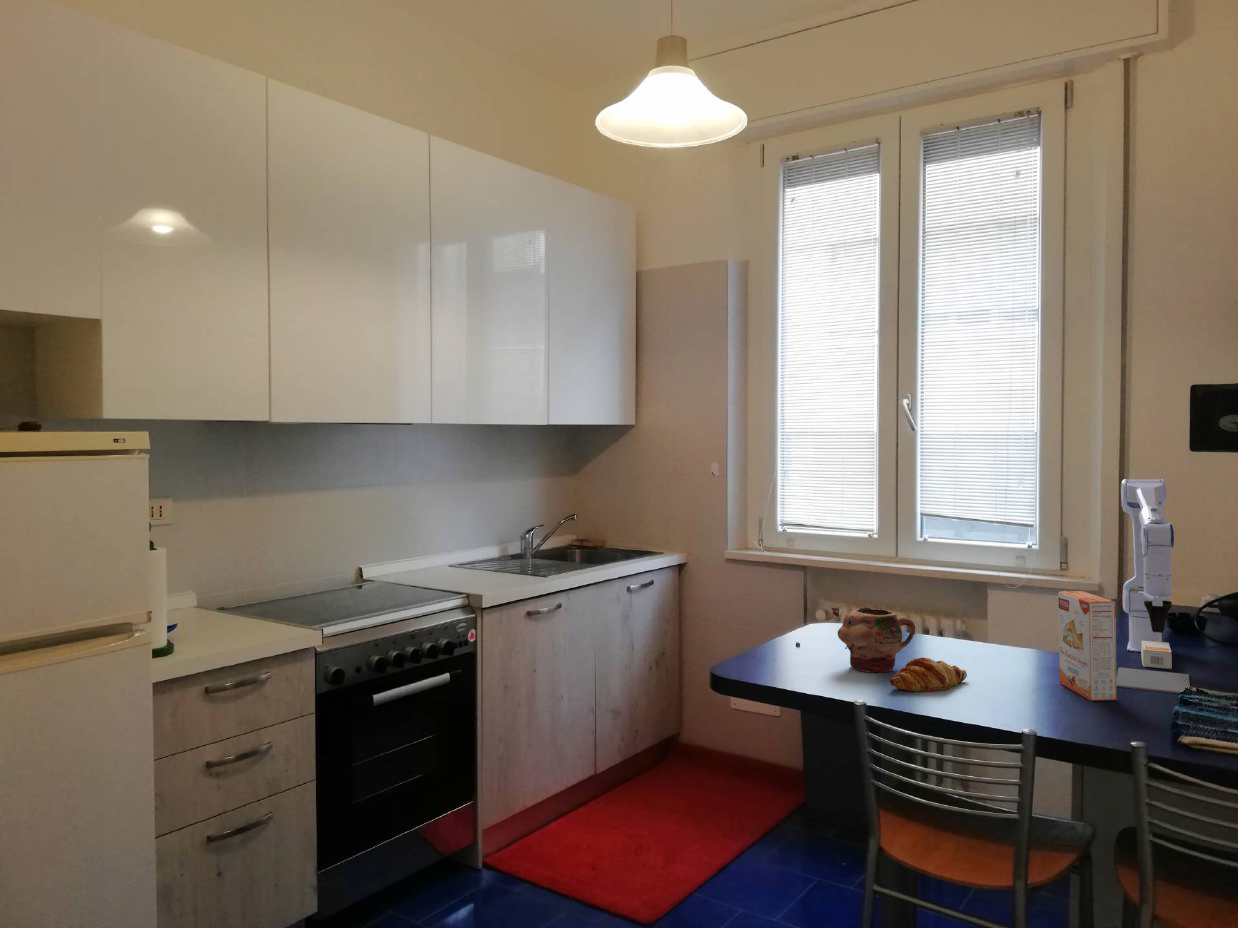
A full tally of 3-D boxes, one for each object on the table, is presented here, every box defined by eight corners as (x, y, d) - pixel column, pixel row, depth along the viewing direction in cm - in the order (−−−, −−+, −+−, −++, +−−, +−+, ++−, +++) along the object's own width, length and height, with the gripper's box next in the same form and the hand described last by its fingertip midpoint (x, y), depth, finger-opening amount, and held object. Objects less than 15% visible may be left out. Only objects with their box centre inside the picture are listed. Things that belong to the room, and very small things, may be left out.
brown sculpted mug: (898, 659, 227) (897, 603, 227) (928, 670, 216) (928, 611, 216) (827, 665, 221) (827, 609, 221) (855, 677, 210) (854, 617, 209)
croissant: (955, 693, 208) (944, 659, 211) (986, 681, 200) (973, 646, 203) (883, 703, 199) (872, 667, 202) (912, 691, 191) (900, 654, 194)
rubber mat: (1118, 669, 214) (1118, 667, 214) (1188, 675, 207) (1188, 674, 207) (1114, 686, 199) (1115, 684, 199) (1190, 694, 191) (1190, 692, 191)
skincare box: (1142, 648, 216) (1140, 639, 226) (1142, 666, 216) (1140, 656, 226) (1172, 651, 213) (1169, 641, 223) (1172, 669, 213) (1169, 659, 224)
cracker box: (1057, 684, 201) (1056, 590, 201) (1085, 683, 201) (1084, 590, 201) (1088, 701, 187) (1087, 600, 187) (1117, 701, 187) (1117, 600, 187)
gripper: (1138, 569, 222) (1139, 624, 222) (1137, 577, 210) (1137, 635, 210) (1172, 571, 218) (1172, 627, 219) (1172, 579, 206) (1173, 638, 206)
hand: (1157, 631), depth 214 cm, fingers closed
